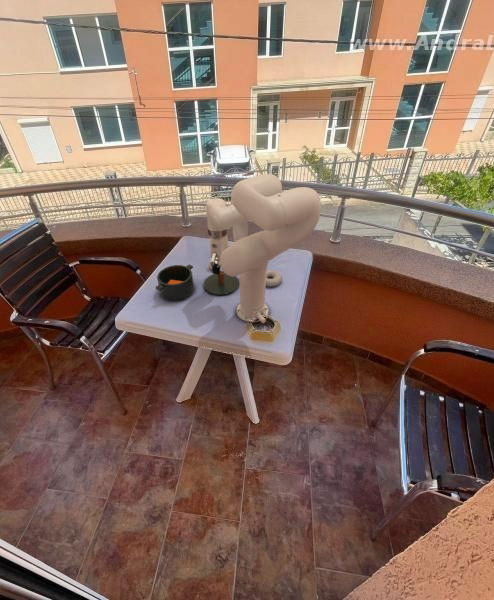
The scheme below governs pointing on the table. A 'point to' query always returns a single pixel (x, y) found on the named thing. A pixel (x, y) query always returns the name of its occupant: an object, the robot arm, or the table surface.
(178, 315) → the table surface
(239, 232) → the grater
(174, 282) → the orange bottle
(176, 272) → the pot
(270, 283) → the donut
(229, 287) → the pot lid
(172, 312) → the table surface
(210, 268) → the unicorn horn
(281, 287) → the table surface
